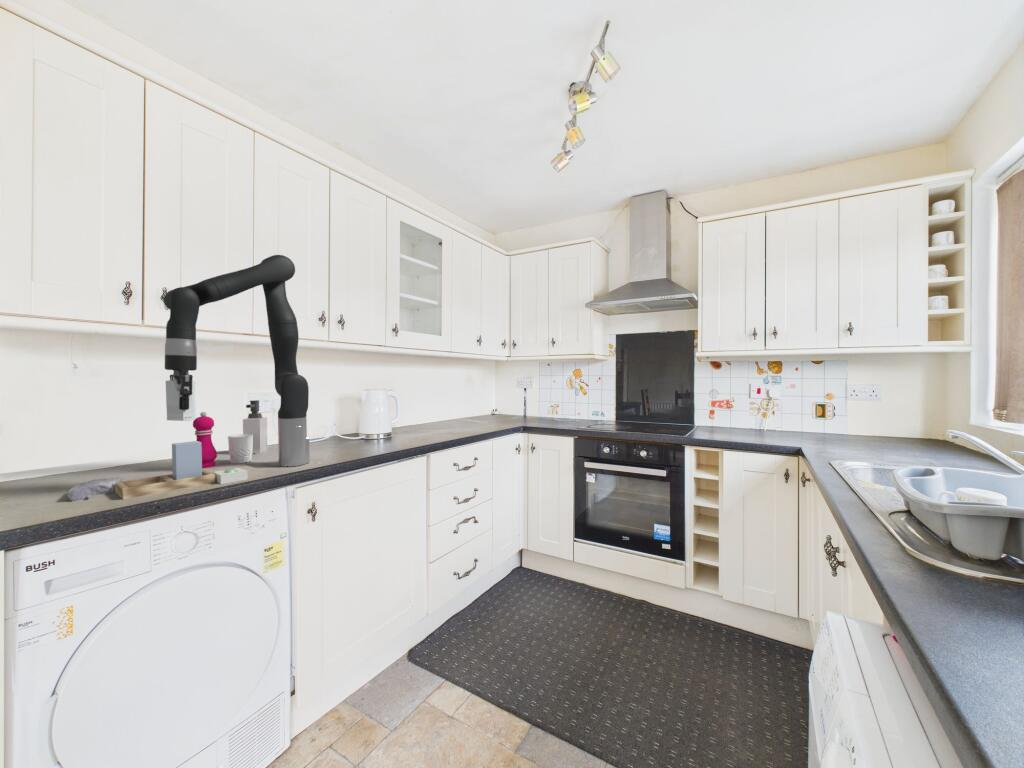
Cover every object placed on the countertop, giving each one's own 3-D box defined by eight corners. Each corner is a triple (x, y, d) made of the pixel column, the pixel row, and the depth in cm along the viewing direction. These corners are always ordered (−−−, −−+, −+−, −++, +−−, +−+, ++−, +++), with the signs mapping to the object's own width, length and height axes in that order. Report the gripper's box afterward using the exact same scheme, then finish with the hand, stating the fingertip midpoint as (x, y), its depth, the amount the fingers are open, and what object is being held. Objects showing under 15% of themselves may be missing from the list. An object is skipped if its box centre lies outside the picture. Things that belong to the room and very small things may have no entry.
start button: (233, 476, 126) (233, 468, 126) (236, 477, 124) (236, 469, 124) (223, 478, 124) (223, 470, 124) (226, 479, 122) (226, 471, 122)
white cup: (223, 463, 151) (222, 436, 151) (242, 459, 158) (242, 433, 158) (239, 464, 149) (238, 437, 148) (258, 460, 156) (258, 434, 156)
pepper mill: (203, 471, 138) (202, 413, 138) (186, 470, 140) (184, 412, 139) (222, 466, 146) (221, 411, 145) (205, 465, 147) (204, 410, 146)
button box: (239, 478, 129) (238, 467, 129) (247, 482, 125) (247, 470, 125) (212, 483, 123) (212, 471, 123) (221, 487, 119) (220, 475, 119)
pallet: (203, 480, 127) (202, 469, 127) (215, 486, 120) (214, 474, 120) (115, 495, 111) (114, 482, 111) (123, 503, 105) (123, 489, 105)
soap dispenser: (240, 455, 166) (239, 401, 165) (251, 451, 174) (250, 400, 174) (257, 454, 167) (256, 401, 166) (267, 450, 175) (266, 400, 175)
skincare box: (196, 419, 125) (196, 380, 125) (182, 421, 120) (182, 380, 120) (179, 419, 126) (179, 380, 125) (164, 420, 121) (165, 380, 121)
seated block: (197, 480, 123) (197, 440, 123) (202, 482, 121) (201, 442, 120) (172, 484, 118) (171, 443, 118) (176, 486, 116) (175, 445, 116)
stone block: (67, 510, 105) (119, 495, 111) (61, 492, 105) (113, 479, 111) (77, 500, 115) (125, 487, 121) (72, 484, 114) (120, 472, 120)
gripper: (203, 354, 121) (202, 409, 121) (189, 355, 130) (189, 407, 130) (171, 353, 115) (170, 411, 115) (159, 354, 124) (158, 408, 124)
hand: (180, 408), depth 123 cm, fingers closed on skincare box, 7 cm apart
